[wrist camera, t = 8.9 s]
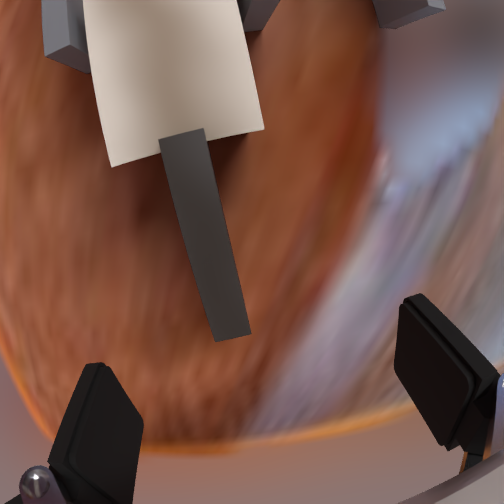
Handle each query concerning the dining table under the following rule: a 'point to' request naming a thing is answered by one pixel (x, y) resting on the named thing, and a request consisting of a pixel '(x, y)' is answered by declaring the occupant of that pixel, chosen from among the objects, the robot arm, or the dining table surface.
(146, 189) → the dining table surface
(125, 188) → the dining table surface
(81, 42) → the lane rack
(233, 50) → the cream block
